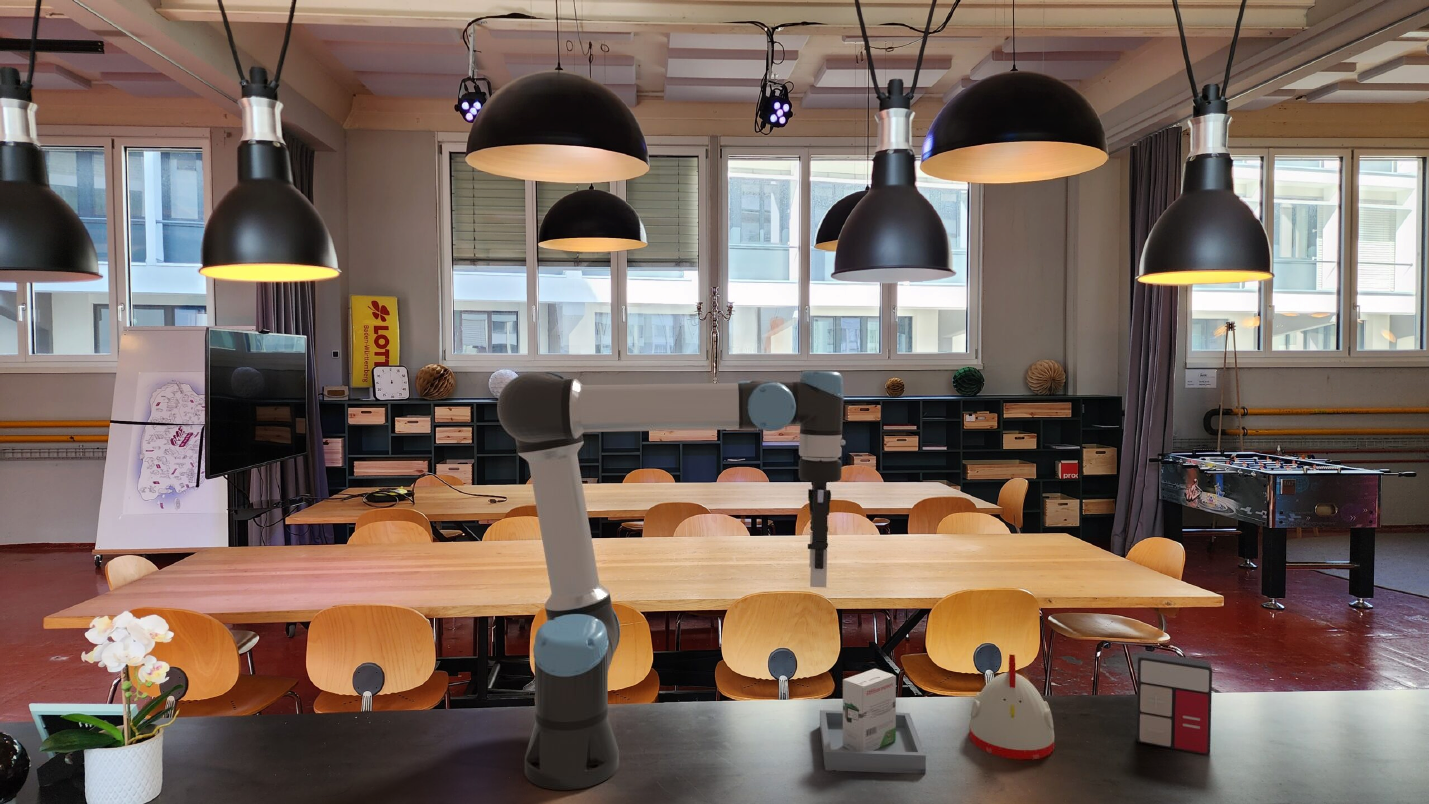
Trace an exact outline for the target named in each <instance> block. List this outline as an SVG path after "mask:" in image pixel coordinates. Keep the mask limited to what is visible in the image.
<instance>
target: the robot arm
mask: <svg viewBox="0 0 1429 804" xmlns="http://www.w3.org/2000/svg"><path fill="white" fill-rule="evenodd" d="M844 400H845V397H844V380H843V376H842V374H841V373H839V371H822V370H821V371H820V370H819V371H817V370H816V371H815V370H814V371H813V370H811V371H810V370H805V371H802V373H801V374H800V378H799V380H798V381H773V380H772V381H771V380H742V381H737V382H729V383H728V382H726V383H725V382H724V383H723V382H722V383H721V382H719V383H717V382H716V383H715V382H713V383H652V384H651V383H646V384H641V383H640V384H638V383H637V384H636V383H635V384H582V382H581V381H579V380H578V379H577V378H566V377H564V376H562V375H560V374H557V373H555V372H549V371H547V372H537V373H535V372H531V373H524V374H521V375H519V376H516V377H514V378H513V379H511V380H510V381H509V382H508V383H507V384H506V385H505V386H503V388H502V390H501V392H500V393H499V396H498V399H497V404H496V405H497V407H496V409H497V410H496V411H497V418H498V420H499V423H500V425H501V426H502V428H503V429H504V430H505V431H506V433H507V434H508V435H510V436H511V437H512V438H514V439H515V445H516V448H517V453H518V454H517V455H519V456H520V457H521V458H522V459H524V460H526V462H527V463H528V467H529V471H530V472H529V473H530V477H531V478H530V479H531V483H532V488H533V494H534V501H535V507H536V512H537V519H538V524H539V530H540V534H541V542H542V548H543V552H544V557H545V563H546V569H547V570H546V571H547V575H548V580H549V587H550V591H551V594H550V596H549V597H548V599H547V600H546V601H545V603H544V608H545V613H546V620H547V621H545V622H544V623H543V624H541V626H539V627H538V629H537V631H536V633H535V635H534V644H533V649H532V650H533V651H532V653H533V658H534V708H535V709H534V711H535V712H534V713H535V717H534V718H535V722H534V726H533V729H532V733H531V736H530V739H529V742H528V746H527V749H526V752H525V755H524V775H525V777H526V779H527V780H528V781H529V782H531V783H532V784H533V785H535V786H538V787H541V788H544V789H548V790H554V791H555V790H556V791H571V790H572V791H573V790H580V789H584V788H589V787H593V786H595V785H598V784H601V783H603V782H604V781H606V780H609V778H611V777H612V776H613V775H615V773H616V772H617V770H618V768H619V767H620V752H619V747H618V744H617V739H616V737H615V734H614V731H613V728H612V725H611V722H610V720H609V716H608V715H609V714H608V713H609V712H608V711H609V710H608V709H609V708H608V707H609V705H608V703H609V702H608V701H609V700H608V699H609V697H608V696H609V695H608V690H609V689H608V680H609V679H608V676H609V669H610V665H611V663H612V660H613V657H614V654H615V653H616V651H617V649H618V646H619V642H620V638H621V625H620V621H619V618H618V615H617V614H616V612H615V610H614V609H613V604H612V599H611V594H610V593H611V592H610V590H609V589H608V588H606V587H605V586H603V585H602V584H601V582H600V579H599V574H598V568H597V562H596V555H595V551H594V545H593V539H592V534H591V533H592V532H591V526H590V523H589V522H590V521H589V515H588V509H587V503H586V498H585V497H586V496H585V492H584V487H583V482H582V481H583V480H582V475H581V470H580V463H579V458H578V453H579V451H580V449H581V448H582V446H583V445H584V437H583V434H584V433H591V432H592V433H597V432H599V433H601V432H651V431H652V432H654V431H657V432H659V431H660V432H661V431H707V430H709V431H710V430H711V431H712V430H716V431H717V430H721V431H722V430H763V431H765V432H773V431H774V432H775V431H780V430H782V429H784V428H786V427H787V426H788V425H799V433H798V434H799V435H798V438H799V439H798V441H799V442H798V455H799V456H801V458H800V459H799V460H798V478H799V480H801V481H803V482H810V484H811V489H810V488H808V490H807V491H808V492H807V498H808V499H807V500H808V503H809V504H808V505H809V506H808V507H809V514H810V521H809V522H810V523H809V524H810V527H809V528H810V532H809V533H810V534H809V543H807V550H809V568H810V574H809V577H810V578H809V579H810V581H809V583H810V584H809V586H810V588H826V589H827V578H828V577H827V575H828V574H827V572H828V571H827V569H828V567H827V565H828V548H829V543H828V532H829V526H828V516H829V515H830V511H831V509H830V506H831V504H830V503H831V502H832V500H831V499H832V491H831V489H827V483H836V482H839V481H841V480H842V464H843V463H842V461H841V459H839V458H840V457H842V450H843V449H842V447H841V446H845V445H846V440H844V439H843V436H842V435H843V424H844V423H843V421H844Z"/></svg>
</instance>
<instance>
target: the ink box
mask: <svg viewBox="0 0 1429 804" xmlns="http://www.w3.org/2000/svg"><path fill="white" fill-rule="evenodd" d="M896 687H897V676H896V675H894V674H893V673H890V672H887V671H884V670H881V669H878V668H872V669H870V670H866V671H864V672H862V673H858V674H855V675H852V676H849V677H847V678H843V679H842V711H843V746H844V747H846V748H848V749H850V750H866V751H874V750H876V749H879V748H881V747H883V746H885V745H888V744H890V743H892V742H895V741H896V713H897V707H896V706H897V705H896V704H897V701H896V699H897V698H896V697H897V693H896V692H897V688H896Z"/></svg>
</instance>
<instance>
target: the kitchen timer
mask: <svg viewBox="0 0 1429 804" xmlns="http://www.w3.org/2000/svg"><path fill="white" fill-rule="evenodd" d="M969 719H970V721H969V725H968V726H969V730H968V731H969V732H968V734H969V739H970V741H971V742H972V743H973V744H974V745H975V746H976V747H978V748H980V749H981V750H983V751H984V752H987V753H989V754H992V755H994V756H999V757H1002V758H1005V757H1006V758H1005V759H1012V758H1014V759H1015V760H1022V759H1032V760H1037V759H1043V758H1045V756H1046V757H1048V756H1050V755H1051V754H1052V753H1053V752H1054V751H1055V750H1054V749H1055V731H1054V720H1053V715H1052V711H1051V709H1050V706H1049V703H1048V702H1047V701H1046V700H1045V701H1044V699H1043V697H1042V696H1041V694H1040V692H1039V691H1038V689H1037V688H1036V687H1035V686H1034V684H1033V683H1031V681H1030V680H1028V679H1027V678H1025V677H1024V676H1023V675H1021V674H1019V673H1017V672H1016V654H1010V653H1009V657H1008V672H1003V673H1001V674H998V675H996V676H995V677H994V678H992V679H990V681H988V682H987V683H986V685H985V686H984V687H983V688H982V689H981V691H980V692H976V693H975V696H974V699H973V702H972V707H971V711H970V718H969ZM1053 750H1054V751H1053ZM1052 751H1053V752H1052ZM1051 752H1052V753H1051ZM1049 754H1050V755H1049ZM1047 755H1048V756H1047ZM1042 757H1043V758H1042ZM1014 759H1013V760H1014Z"/></svg>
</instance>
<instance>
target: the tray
mask: <svg viewBox="0 0 1429 804" xmlns="http://www.w3.org/2000/svg"><path fill="white" fill-rule="evenodd" d="M819 730H820V732H821V733H820V739H821V748H822V749H823V750H822V757H823V758H822V759H823V764H824V765H823V766H825V767H824V770H825V771H833V770H836V771H837V772H839V771H840V772H846V771H847V772H862V773H863V772H868V773H891V774H892V773H894V774H895V773H896V774H916V775H917V774H918V775H925V774H927V773H926V772H927V771H926V770H927V769H926V766H927V765H926V761H927V759H926V757H927V755H926V753H925V750H924V747H923V744H922V742H921V739H920V736H919V734H918V732H917V729H916V726H915V723H914V721H913V717H912V716H911V713H910V712H896V741H895V742H892V743H890V744H888V745H885V746H883V747H881V748H879V749H876V750H874V751H866V750H850V749H848V748H846V747H844V746H843V710H824V709H823V710H821V709H820V710H819Z"/></svg>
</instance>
